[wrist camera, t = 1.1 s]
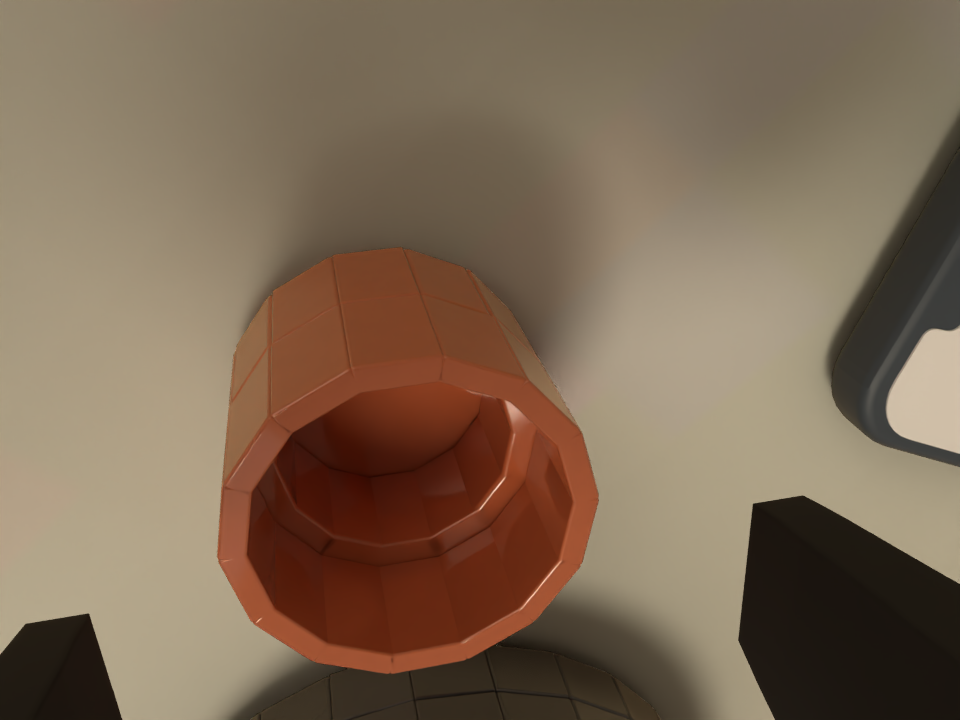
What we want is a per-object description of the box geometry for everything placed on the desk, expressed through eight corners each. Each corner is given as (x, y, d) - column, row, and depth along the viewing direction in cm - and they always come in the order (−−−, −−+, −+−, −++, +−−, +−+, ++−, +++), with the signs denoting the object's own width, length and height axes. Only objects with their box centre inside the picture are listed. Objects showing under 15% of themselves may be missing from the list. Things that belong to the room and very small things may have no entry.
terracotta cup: (379, 540, 19) (410, 725, 14) (166, 380, 16) (129, 546, 12) (574, 369, 18) (667, 513, 14) (380, 174, 15) (421, 275, 11)
